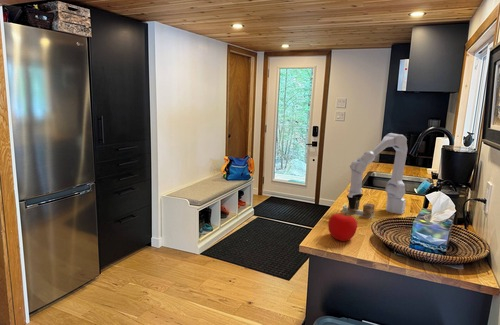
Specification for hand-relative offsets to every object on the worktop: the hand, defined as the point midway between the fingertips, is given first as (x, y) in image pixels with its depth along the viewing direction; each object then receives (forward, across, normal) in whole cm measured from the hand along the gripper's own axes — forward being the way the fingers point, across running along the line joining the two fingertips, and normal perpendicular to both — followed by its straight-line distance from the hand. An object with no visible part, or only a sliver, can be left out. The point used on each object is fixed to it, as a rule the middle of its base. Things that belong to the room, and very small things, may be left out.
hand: (353, 207), depth 181 cm
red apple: (+4, +36, +8) cm, 38 cm away
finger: (+3, 0, +8) cm, 8 cm away
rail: (+3, 0, +2) cm, 4 cm away
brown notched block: (+2, 0, 0) cm, 2 cm away
